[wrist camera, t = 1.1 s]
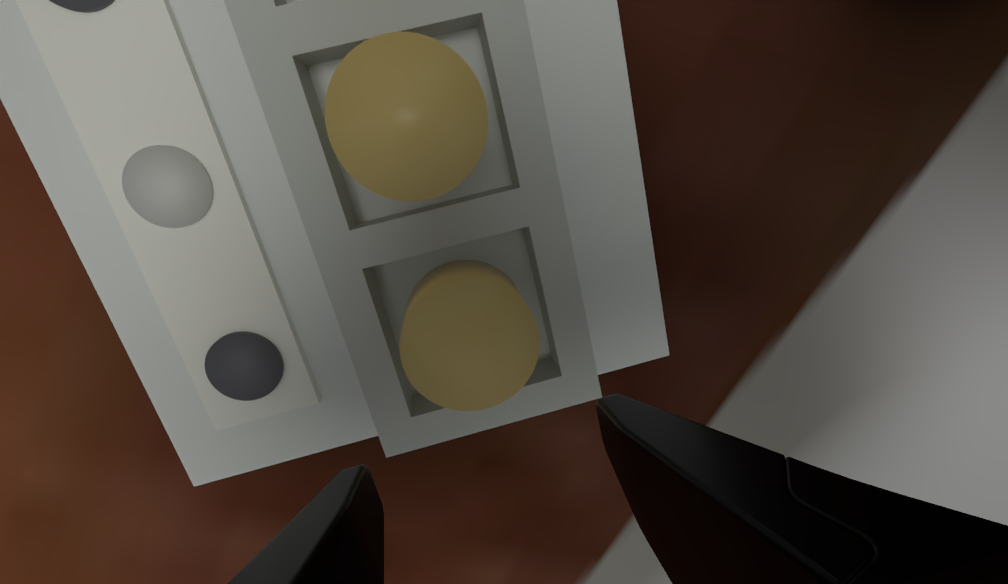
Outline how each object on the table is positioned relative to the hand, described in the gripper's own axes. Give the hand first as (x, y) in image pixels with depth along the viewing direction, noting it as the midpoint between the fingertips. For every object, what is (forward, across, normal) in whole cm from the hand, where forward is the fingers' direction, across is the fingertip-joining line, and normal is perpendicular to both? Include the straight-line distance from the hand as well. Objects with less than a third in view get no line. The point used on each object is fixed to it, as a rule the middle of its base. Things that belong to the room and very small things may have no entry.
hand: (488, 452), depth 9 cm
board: (+10, +2, -6) cm, 12 cm away
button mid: (+8, 0, -6) cm, 10 cm away
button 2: (+8, 0, 0) cm, 8 cm away
